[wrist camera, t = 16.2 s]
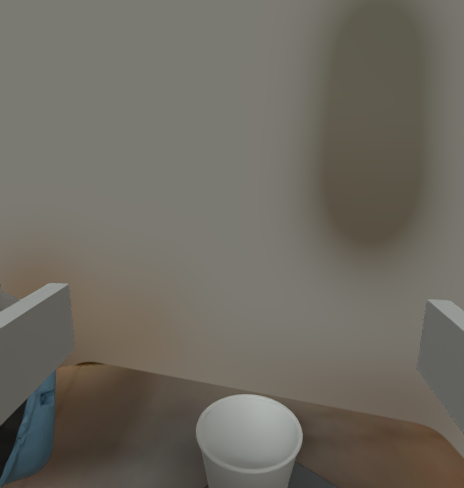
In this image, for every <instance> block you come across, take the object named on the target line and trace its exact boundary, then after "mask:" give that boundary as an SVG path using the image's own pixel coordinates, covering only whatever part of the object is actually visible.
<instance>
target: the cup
mask: <svg viewBox="0 0 464 488" xmlns="http://www.w3.org/2000/svg"><path fill="white" fill-rule="evenodd" d="M196 439H197V442H198V445H199V447H200V449H201V453H202V458H203V463H204V468H205V471H206V477H207V482H208V487H209V488H287V487H288V483H289V480H290V476H291V473H292V470H293V466H294V462H295V459H296V455H297V454H298V452H299V451H300V448H301V446H302V441H303V433H302V428H301V425H300V423H299V421H298V419H297V418H296V416H295V415H294V414H293V413H292V412H291V411H290V410H289V409H288V408H287V407H286V406H284V405H283V404H281V403H279V402H277V401H275V400H273V399H271V398H267V397H264V396H259V395H254V394H240V395H233V396H228V397H225V398H222V399H219V400H218V401H216V402H214V403H212V404H211V405H210V406H208V407H207V408H206V409H205V410H204V411H203V413H202V414H201V415H200V417H199V419H198V421H197V426H196Z"/></svg>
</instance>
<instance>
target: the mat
mask: <svg viewBox="0 0 464 488" xmlns="http://www.w3.org/2000/svg"><path fill="white" fill-rule="evenodd" d="M205 488H209V487H208V485H207V486H206V487H205ZM287 488H338V487H337V486H335V485H333V484H332V483H330V482H328V481H327V480H325V479H323V478H322V477H320V476H318V475H317V474H315V473H313V472H312V471H310V470H309V469H307V468H305V467H304V466H302V465H300V464H299V463H297V462H294V466H293V470H292V473H291V476H290V480H289V483H288V487H287Z"/></svg>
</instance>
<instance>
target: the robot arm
mask: <svg viewBox="0 0 464 488" xmlns="http://www.w3.org/2000/svg"><path fill="white" fill-rule="evenodd" d="M72 322H73V321H72V311H71V300H70V290H69V284H60V283H49V284H47V285H45V286H44V287H42V288H40V289H39V290H37V291H35V292H34V293H32V294H30V295H28V296H27V297H25V298H23V299H22V300H19V299H18V298H16V297H14V296H12V295H10V294H7V293H4V292H2V291H1V286H0V488H1V487H2V486H3V485H5V484H8V483H11V482H14V481H16V480H19V479H22V478H25V477H28V476H31V475H33V474H35V473H37V472H38V471H39V470H41V469H42V468H43V467H44V466H45V465H46V463H47V462H48V460H49V458H50V456H51V453H52V448H53V438H54V418H55V381H56V369H57V367H58V366H59V365H60V364H61V363H62V362H63V361H64V360H65V359H66V358H67V357H68V356H69V355H70V354H71V353H72V352H73V351H74V350H75V343H74V333H73V323H72ZM417 370H418V372H419V373H420V374H421V376H422V377H423V379H424V380H425V381H426V383H427V384H428V385H429V387H430V388H431V390H432V391H433V392H434V394H435V395H436V396H437V398H438V399H439V400H440V402H441V403H442V405H443V406H444V407H445V409H446V410H447V411H448V413H449V414H450V416H451V417H452V418H453V420H454V421H455V422H456V424H457V425H458V426H459V428H460V429H461V431H462V432H463V433H464V311H463V310H462V309H460V308H459V307H457V306H456V305H455V304H454V303H452V302H451V301H450V300H428V299H427V303H426V311H425V316H424V323H423V330H422V336H421V343H420V350H419V357H418V363H417Z"/></svg>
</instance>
